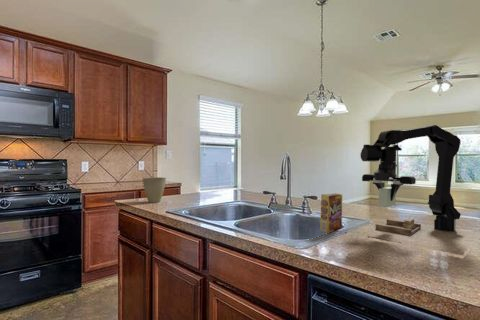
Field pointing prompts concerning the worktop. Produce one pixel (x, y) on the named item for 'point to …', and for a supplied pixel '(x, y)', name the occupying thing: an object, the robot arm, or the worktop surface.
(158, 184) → the plant pot
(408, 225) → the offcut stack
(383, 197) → the pale grey rectangular block
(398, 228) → the rack
